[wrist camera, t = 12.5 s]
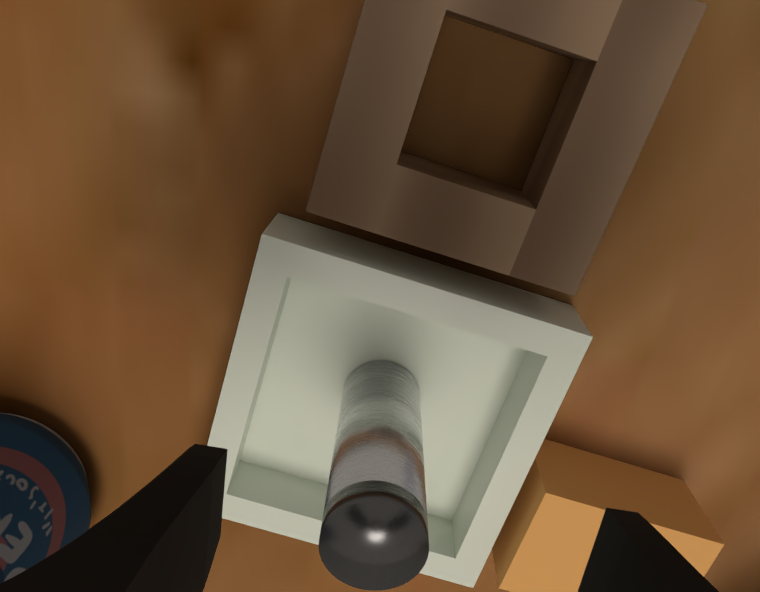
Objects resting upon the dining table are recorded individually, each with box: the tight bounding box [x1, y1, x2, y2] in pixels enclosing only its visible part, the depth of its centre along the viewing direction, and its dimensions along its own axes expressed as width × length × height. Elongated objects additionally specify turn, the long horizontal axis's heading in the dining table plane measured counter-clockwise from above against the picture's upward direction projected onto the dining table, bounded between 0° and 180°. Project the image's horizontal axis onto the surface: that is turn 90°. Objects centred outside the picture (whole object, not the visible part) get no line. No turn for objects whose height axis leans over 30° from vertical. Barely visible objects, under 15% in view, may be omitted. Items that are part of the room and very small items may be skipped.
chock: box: [492, 439, 724, 592], centre depth 23 cm, size 6×4×4 cm, turn 73°
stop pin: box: [319, 360, 429, 590], centre depth 19 cm, size 3×3×7 cm
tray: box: [207, 213, 593, 588], centre depth 22 cm, size 10×10×2 cm
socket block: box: [306, 0, 708, 296], centre depth 18 cm, size 8×8×2 cm
